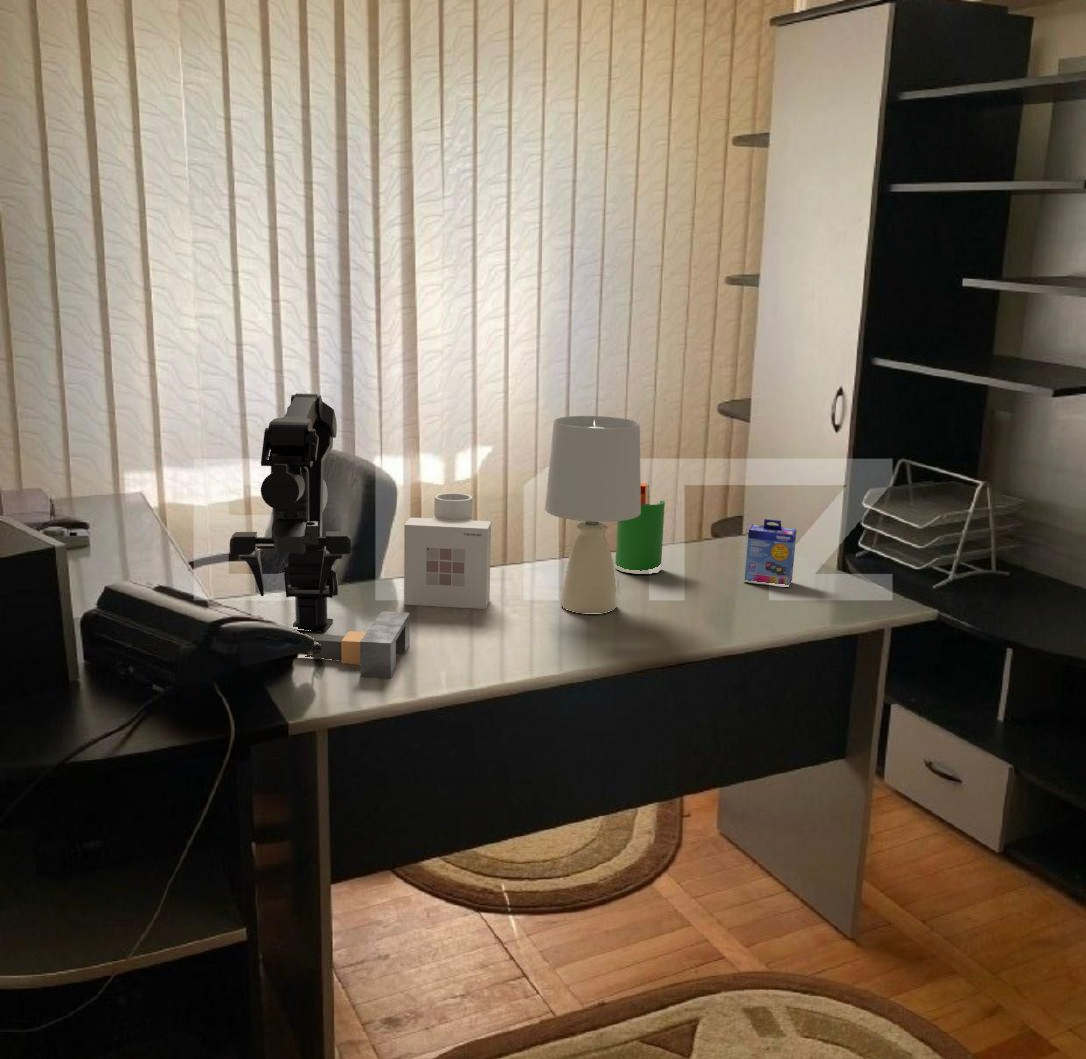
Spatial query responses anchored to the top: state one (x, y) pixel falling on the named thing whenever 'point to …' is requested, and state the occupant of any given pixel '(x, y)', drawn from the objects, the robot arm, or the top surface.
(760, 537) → the ink cartridge box
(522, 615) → the top surface
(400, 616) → the housing
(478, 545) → the white square bottle
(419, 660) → the top surface
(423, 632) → the top surface
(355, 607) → the top surface
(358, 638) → the plug
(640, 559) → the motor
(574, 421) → the lamp
